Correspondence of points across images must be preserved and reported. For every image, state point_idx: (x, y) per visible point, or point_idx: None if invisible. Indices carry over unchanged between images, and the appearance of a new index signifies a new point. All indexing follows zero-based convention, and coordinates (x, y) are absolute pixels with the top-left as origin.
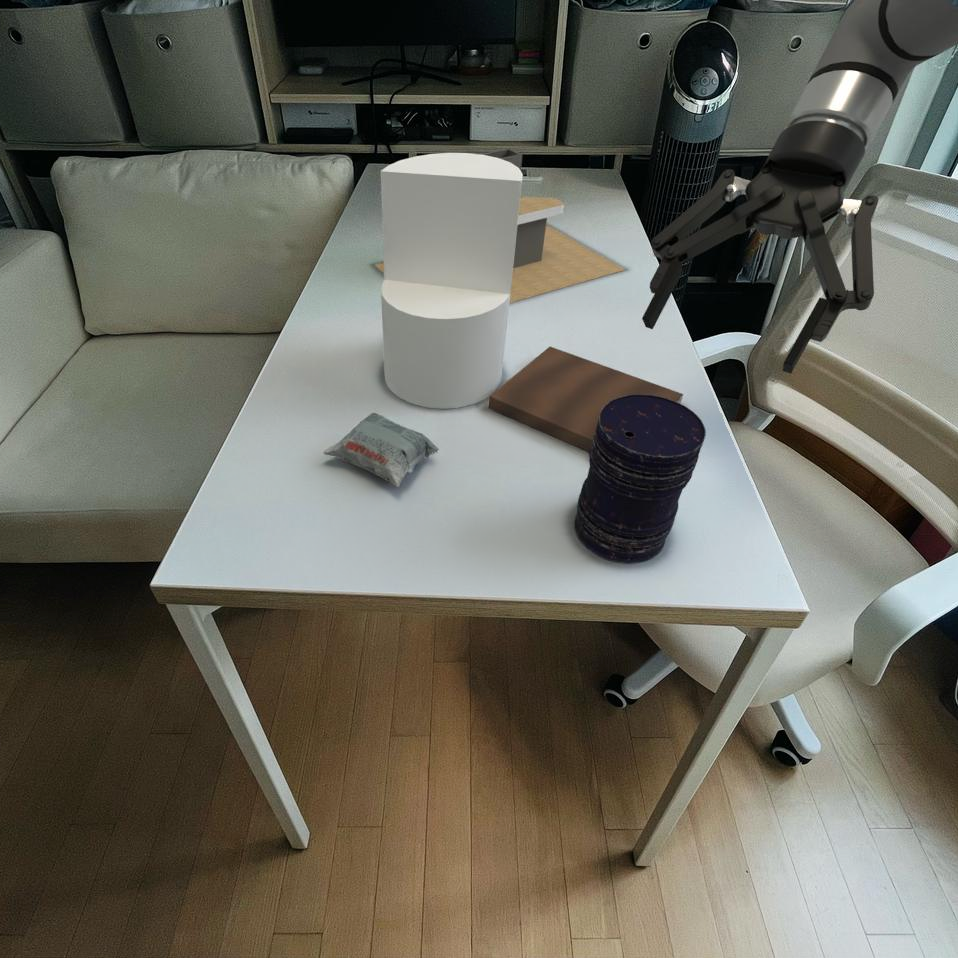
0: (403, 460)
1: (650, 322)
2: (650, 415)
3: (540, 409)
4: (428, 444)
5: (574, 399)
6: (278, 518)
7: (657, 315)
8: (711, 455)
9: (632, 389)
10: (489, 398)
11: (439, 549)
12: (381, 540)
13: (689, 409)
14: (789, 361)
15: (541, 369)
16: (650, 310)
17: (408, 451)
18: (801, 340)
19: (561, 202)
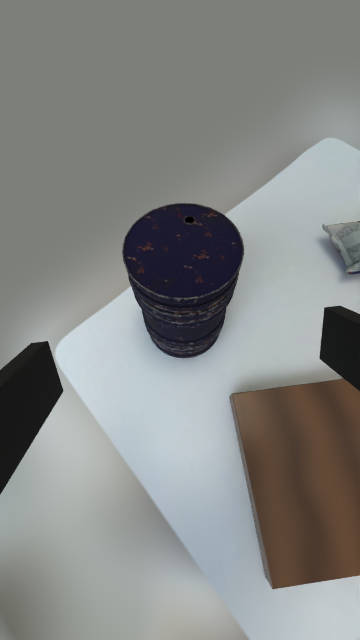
0: (344, 232)
1: (324, 324)
2: (193, 259)
3: (353, 393)
4: (356, 263)
5: (349, 442)
6: (344, 184)
7: (338, 357)
8: (178, 492)
9: (325, 533)
10: None
11: (257, 229)
12: (287, 211)
13: (164, 296)
14: (36, 344)
15: None
16: (346, 314)
17: (351, 236)
18: (8, 368)
19: None
